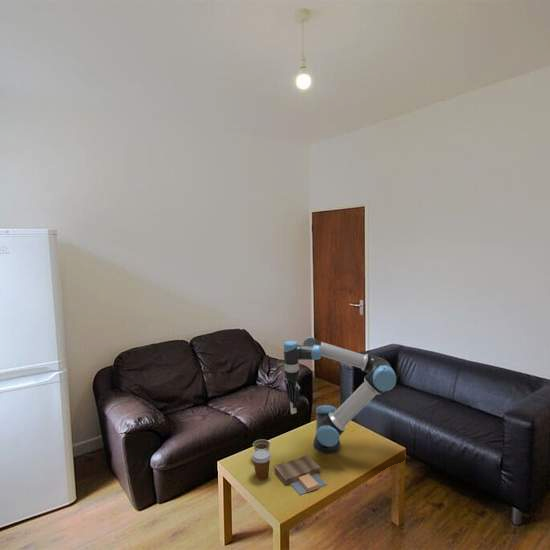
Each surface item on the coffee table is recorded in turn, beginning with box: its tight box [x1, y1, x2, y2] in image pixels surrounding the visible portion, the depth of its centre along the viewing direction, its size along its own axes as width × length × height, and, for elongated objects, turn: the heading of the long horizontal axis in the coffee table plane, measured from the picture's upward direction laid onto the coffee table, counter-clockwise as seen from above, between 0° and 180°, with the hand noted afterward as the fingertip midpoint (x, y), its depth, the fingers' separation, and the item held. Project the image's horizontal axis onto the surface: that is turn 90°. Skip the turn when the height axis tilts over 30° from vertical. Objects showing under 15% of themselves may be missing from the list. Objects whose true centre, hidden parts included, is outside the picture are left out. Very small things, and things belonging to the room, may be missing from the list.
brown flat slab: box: [273, 454, 321, 486], centre depth 185 cm, size 20×12×3 cm, turn 117°
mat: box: [289, 474, 327, 496], centre depth 176 cm, size 15×9×1 cm, turn 117°
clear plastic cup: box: [252, 439, 271, 452], centre depth 196 cm, size 9×9×9 cm
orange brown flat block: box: [298, 474, 320, 493], centre depth 175 cm, size 6×9×2 cm, turn 27°
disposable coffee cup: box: [251, 449, 272, 481], centre depth 182 cm, size 10×10×12 cm
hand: (293, 412), depth 194 cm, fingers closed
